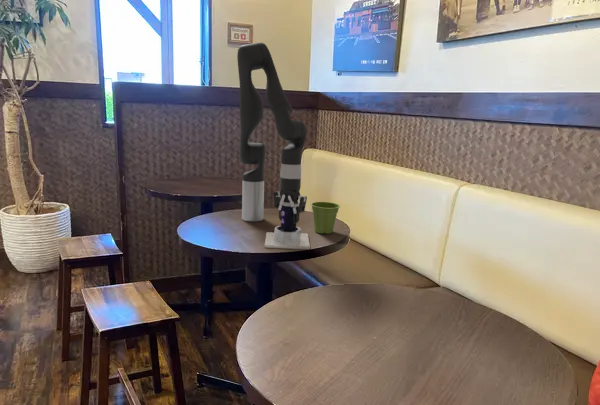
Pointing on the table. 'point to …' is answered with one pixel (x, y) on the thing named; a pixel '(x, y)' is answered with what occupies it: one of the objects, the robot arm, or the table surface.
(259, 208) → the robot arm
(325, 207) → the plant pot
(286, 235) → the metal collar
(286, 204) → the beverage can
